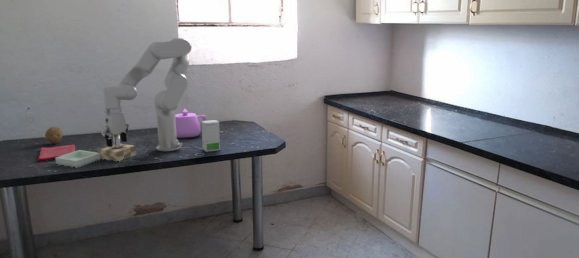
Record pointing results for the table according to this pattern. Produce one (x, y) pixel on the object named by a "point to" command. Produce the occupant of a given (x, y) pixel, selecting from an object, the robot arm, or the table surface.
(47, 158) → the dish towel
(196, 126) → the teapot
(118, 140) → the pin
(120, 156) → the hitch block
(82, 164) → the tray
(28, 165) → the table surface
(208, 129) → the skincare box
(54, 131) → the natural sponge
